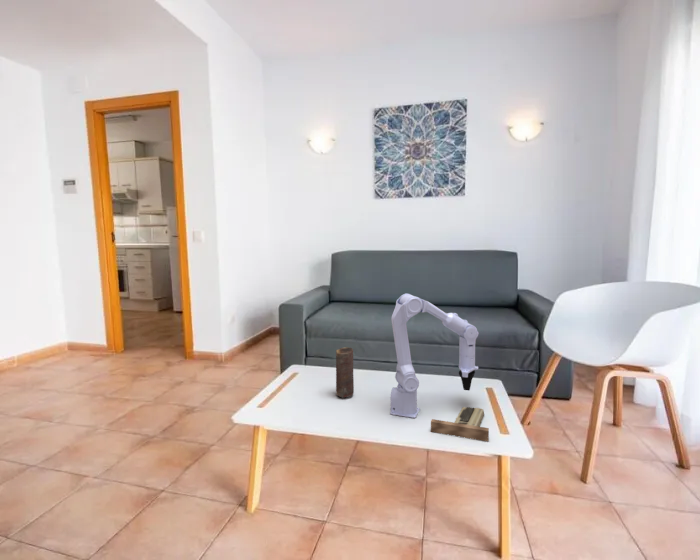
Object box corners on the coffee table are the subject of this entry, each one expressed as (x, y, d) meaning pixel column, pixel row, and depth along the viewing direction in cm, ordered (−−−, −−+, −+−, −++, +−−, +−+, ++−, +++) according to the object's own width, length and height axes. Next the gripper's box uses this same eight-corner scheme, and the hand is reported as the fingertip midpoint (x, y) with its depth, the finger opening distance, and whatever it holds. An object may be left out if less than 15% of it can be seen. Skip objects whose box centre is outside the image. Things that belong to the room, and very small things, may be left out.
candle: (357, 396, 155) (356, 349, 153) (343, 401, 151) (342, 352, 149) (346, 391, 161) (345, 345, 159) (332, 395, 157) (331, 348, 155)
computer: (461, 412, 139) (461, 403, 139) (484, 416, 135) (484, 407, 135) (451, 431, 126) (451, 422, 125) (476, 436, 122) (476, 427, 121)
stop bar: (430, 431, 125) (430, 421, 124) (432, 428, 127) (431, 419, 126) (488, 441, 118) (488, 431, 117) (488, 438, 119) (488, 428, 119)
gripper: (476, 361, 133) (476, 398, 135) (479, 350, 146) (479, 384, 148) (456, 359, 136) (455, 395, 137) (461, 349, 149) (460, 382, 151)
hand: (466, 389), depth 143 cm, fingers closed
